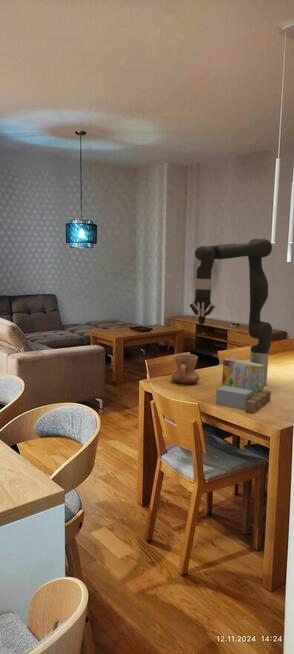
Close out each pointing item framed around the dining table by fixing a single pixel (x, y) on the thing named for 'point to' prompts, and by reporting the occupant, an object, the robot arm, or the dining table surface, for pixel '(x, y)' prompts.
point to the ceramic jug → (185, 369)
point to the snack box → (243, 375)
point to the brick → (233, 396)
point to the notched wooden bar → (257, 401)
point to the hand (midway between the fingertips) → (201, 324)
